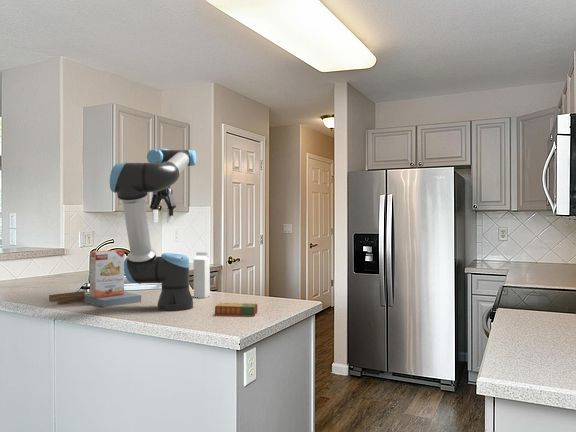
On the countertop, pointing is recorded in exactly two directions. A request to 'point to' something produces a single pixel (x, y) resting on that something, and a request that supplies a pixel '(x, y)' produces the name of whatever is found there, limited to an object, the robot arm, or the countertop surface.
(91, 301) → the slate board
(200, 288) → the milk
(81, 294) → the slot rack
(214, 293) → the countertop surface
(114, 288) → the cracker box
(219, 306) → the carton
